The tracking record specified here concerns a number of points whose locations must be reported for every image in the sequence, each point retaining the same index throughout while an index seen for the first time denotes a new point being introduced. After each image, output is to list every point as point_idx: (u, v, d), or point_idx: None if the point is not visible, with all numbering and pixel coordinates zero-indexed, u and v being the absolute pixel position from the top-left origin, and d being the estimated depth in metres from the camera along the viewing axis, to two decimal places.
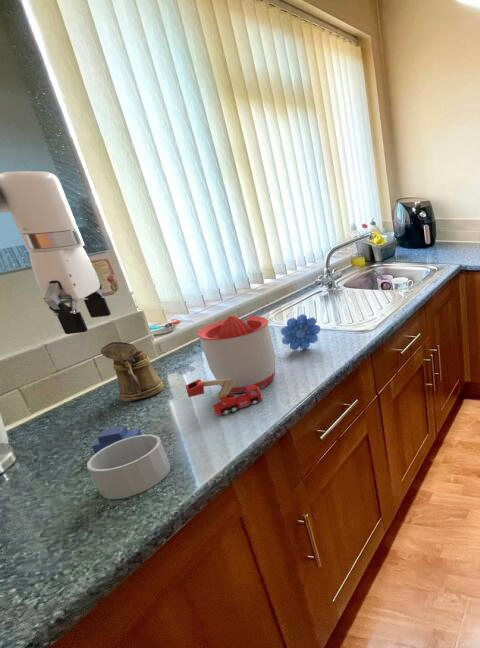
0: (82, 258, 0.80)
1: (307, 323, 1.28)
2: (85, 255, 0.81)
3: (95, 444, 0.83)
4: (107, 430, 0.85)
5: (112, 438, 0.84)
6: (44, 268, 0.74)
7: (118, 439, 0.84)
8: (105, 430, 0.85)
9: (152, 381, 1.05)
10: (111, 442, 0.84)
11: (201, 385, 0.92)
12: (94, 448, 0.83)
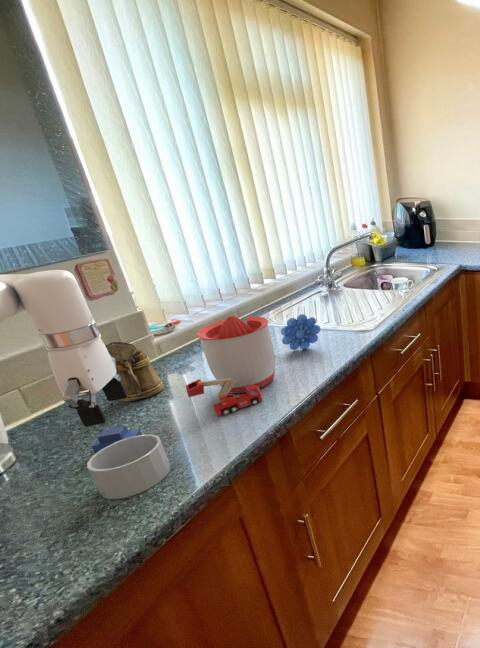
0: (99, 349, 0.80)
1: (307, 323, 1.28)
2: (101, 344, 0.81)
3: (95, 444, 0.83)
4: (107, 430, 0.85)
5: (112, 438, 0.84)
6: (63, 366, 0.74)
7: (118, 439, 0.84)
8: (105, 430, 0.85)
9: (152, 381, 1.05)
10: (111, 442, 0.84)
11: (201, 385, 0.92)
12: (94, 448, 0.83)
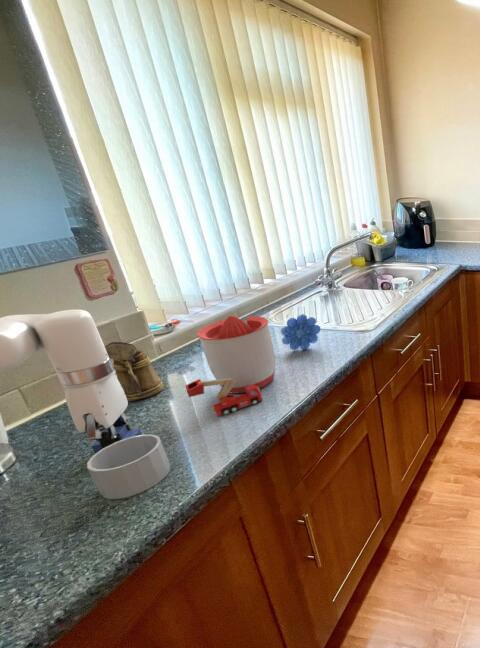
0: (112, 384, 0.83)
1: (307, 323, 1.28)
2: (115, 379, 0.84)
3: (95, 444, 0.83)
4: (107, 430, 0.85)
5: None
6: (78, 403, 0.77)
7: None
8: (105, 430, 0.85)
9: (152, 381, 1.05)
10: None
11: (201, 385, 0.92)
12: (94, 448, 0.83)
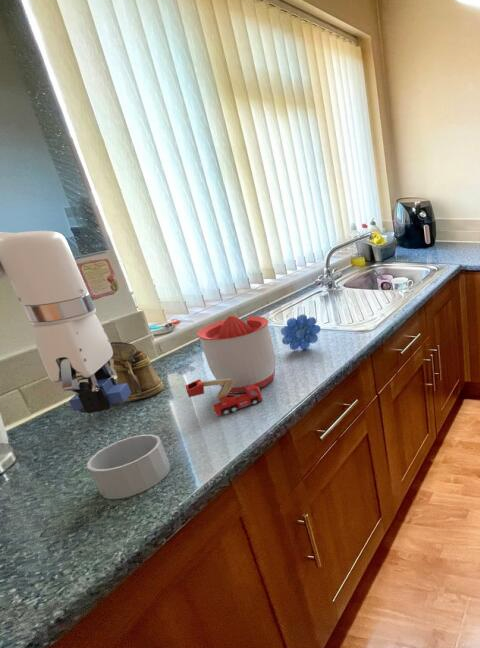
0: (93, 326, 0.69)
1: (307, 323, 1.28)
2: (96, 321, 0.70)
3: (73, 399, 0.69)
4: None
5: None
6: (50, 344, 0.63)
7: None
8: None
9: (152, 381, 1.05)
10: None
11: (201, 385, 0.92)
12: (72, 403, 0.69)
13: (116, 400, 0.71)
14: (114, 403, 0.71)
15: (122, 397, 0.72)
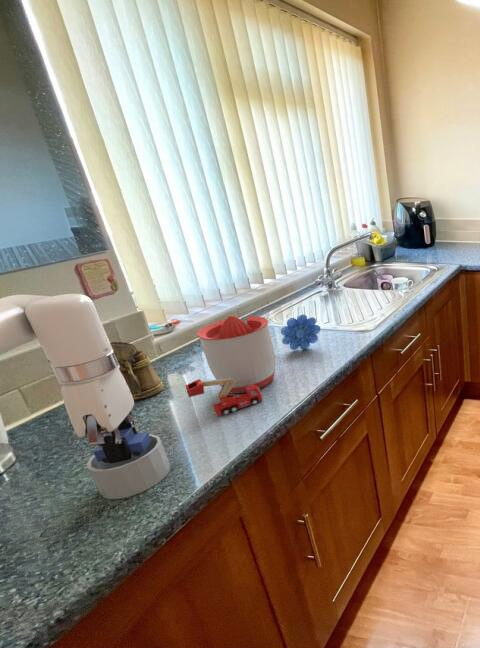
0: (116, 380, 0.72)
1: (307, 323, 1.28)
2: (119, 375, 0.73)
3: (97, 450, 0.72)
4: (111, 434, 0.74)
5: None
6: (78, 402, 0.66)
7: None
8: (109, 434, 0.74)
9: (152, 381, 1.05)
10: None
11: (201, 385, 0.92)
12: (96, 454, 0.72)
13: (137, 450, 0.74)
14: (135, 452, 0.74)
15: (143, 447, 0.75)
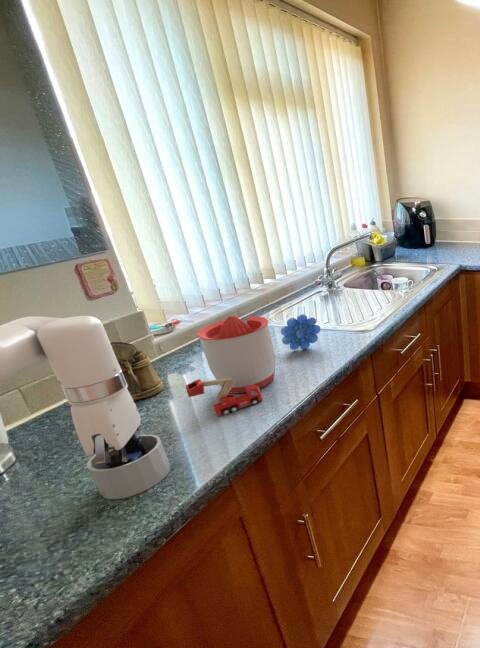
0: (124, 399, 0.73)
1: (307, 323, 1.28)
2: (127, 393, 0.75)
3: None
4: None
5: None
6: (87, 422, 0.67)
7: None
8: None
9: (152, 381, 1.05)
10: None
11: (201, 385, 0.92)
12: None
13: None
14: None
15: None
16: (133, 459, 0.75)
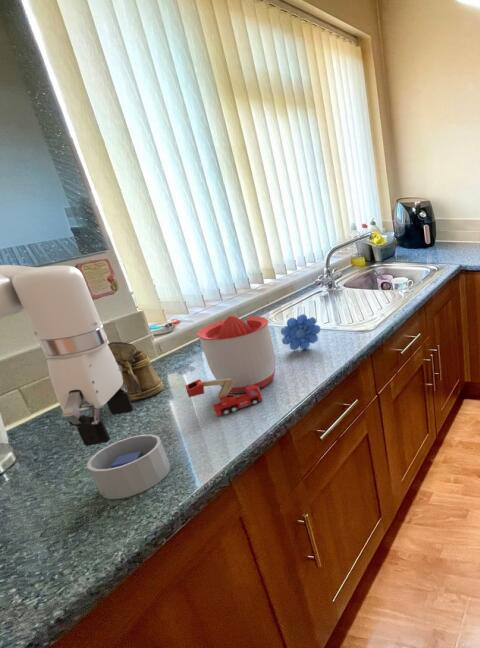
0: (105, 357, 0.70)
1: (307, 323, 1.28)
2: (108, 351, 0.71)
3: None
4: (121, 457, 0.76)
5: None
6: (64, 377, 0.64)
7: None
8: (119, 457, 0.76)
9: (152, 381, 1.05)
10: None
11: (201, 385, 0.92)
12: None
13: None
14: None
15: None
16: (133, 459, 0.75)
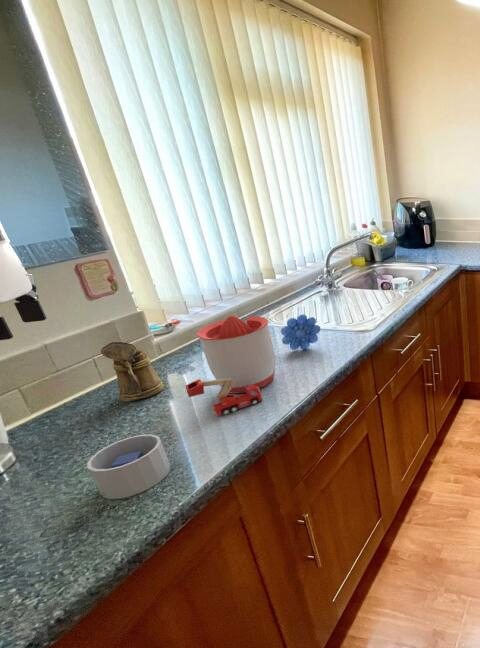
0: (7, 256, 0.71)
1: (307, 323, 1.28)
2: (12, 253, 0.72)
3: None
4: (121, 457, 0.76)
5: None
6: None
7: None
8: (119, 457, 0.76)
9: (152, 381, 1.05)
10: None
11: (201, 385, 0.92)
12: None
13: None
14: None
15: None
16: (133, 459, 0.75)
